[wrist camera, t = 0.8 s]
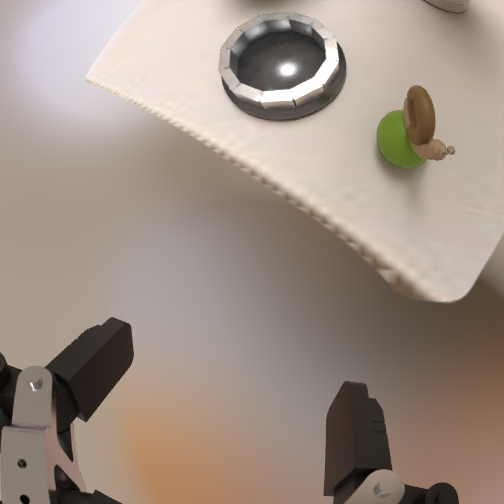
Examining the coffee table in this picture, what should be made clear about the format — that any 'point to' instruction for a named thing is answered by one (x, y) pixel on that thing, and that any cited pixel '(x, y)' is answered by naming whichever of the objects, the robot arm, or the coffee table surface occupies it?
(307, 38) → the collar base
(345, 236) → the coffee table surface
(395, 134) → the snail figurine
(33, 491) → the robot arm
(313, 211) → the coffee table surface
